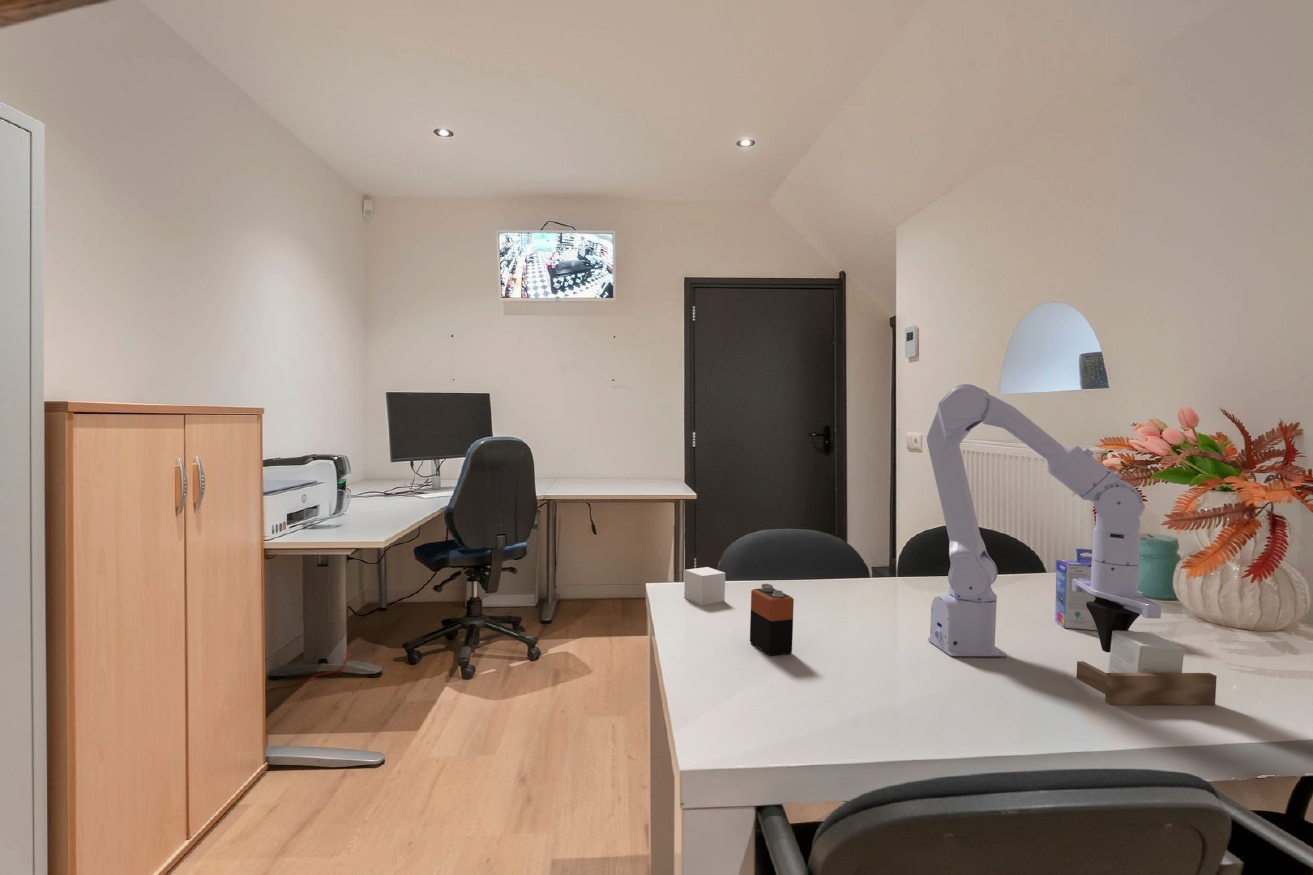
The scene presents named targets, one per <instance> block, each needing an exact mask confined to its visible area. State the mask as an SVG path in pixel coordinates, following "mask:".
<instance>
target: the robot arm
mask: <svg viewBox="0 0 1313 875" xmlns="http://www.w3.org/2000/svg"><path fill="white" fill-rule="evenodd" d="M981 423H982V424H984V425H988V426H993V427H997V428H1002V429H1004V430H1006V431H1007V432H1008V433H1010V434H1011V435H1012V436H1014V437H1015V438H1016V439H1018V440H1020V441H1021V442H1022V443H1023V444H1025V445H1026V446H1027V447H1029V448H1030V449H1031V450H1033V451H1035V452H1036V454H1038V455H1040V456H1041V457H1043V459H1045V460H1046V462H1047V472H1048V473H1049V474H1050V475H1051V476H1053V477H1054V478H1055V479H1056V480H1057V481H1059V482H1060V483H1062V484H1063V485H1064V486H1066V488H1068V489H1069V490H1070V491H1072V493H1075V495H1077V496H1078V497H1080V498H1081V499H1082V500H1083V501H1090V502H1092V503H1093V507H1094V510H1095V512H1096V513H1095V514H1096V515H1095V527H1094V528H1093V529H1092V549H1091V550H1092V554H1091V557H1092V567H1091V581H1089V580H1086V579H1072V590H1073V591H1075V592H1082V593H1085V594H1087V595H1090V596H1093V597H1095V600H1094V602H1086V607H1087V608H1088V610H1089V612H1090V613H1091V615H1092V617H1093V620H1094V622H1095V625H1096V627H1097V630H1096V631H1097V633H1098V639H1099V642H1100V643H1099V644H1100V647H1101V650H1102V652H1105V653H1110V651H1111V640H1112V631H1129V629H1130V628H1131V626H1132V625H1133V623H1134V622H1136V620H1137V619H1138V618H1139V617H1140V616H1142V617H1143V618H1146V619H1161V616H1162V604H1160V603H1157V602H1154V601H1152V600H1151V599H1149V598H1147V597H1145V596H1143V594H1144V593H1143V592H1142V591H1139V590H1138V589H1139V587H1138V586H1139V572H1140V571H1139V568H1140V567H1139V566H1140V565H1139V564H1140V552H1141V550H1140V549H1141V533H1140V532H1139V529H1140V528H1141V520H1140V518H1139V517H1140V516H1141V515H1143V512H1144V510H1145V504H1144V502H1143V501H1144V500H1143V498H1142V495H1141V494H1140V492H1139V491H1138V490H1137V489H1136V488H1135V487H1134V486H1133V485H1132V484H1131V483H1130V482H1128V481H1125V480H1124V479H1122V478H1123V474H1121V473H1120V472H1119V471H1117V470H1116V471H1115V472H1114V471H1113V470H1111V469H1110V468H1109V467H1107V466H1105V465H1104V464H1103V463H1102V462H1100V461H1099V460H1098V459H1096V458H1095V457H1093V455H1094V454H1095V452H1093V451H1092V450H1091V449H1090V448H1089V447H1086V448H1084V449H1083V448H1082V447H1081V446H1079V445H1062V444H1061V443H1060V442H1058V441H1057V440H1056V439H1055V438H1054V437H1053V436H1051V435H1050V434H1048V433H1047V432H1046V431H1045V430H1044V429H1042V428H1041V427H1039V426H1038V424H1036V423H1035V422H1033V421H1032V420H1031V419H1029V417H1027V416H1026V415H1025V414H1023V412H1021V411H1020V410H1018V409H1017V408H1016V407H1014V406H1013V405H1011V404H1009V403H1008V402H1005V401H1004V400H1003V399H1000V398H999V397H996V396H994V395H992V394H990V393H989V392H988V391H987V390H986V389H983V388H981V387H979V386H976V385H974V384H970V383H964V384H963V383H962V384H959V385H955V386H954V387H952V388H950V390H949V391H947V392H946V394H945V395H944V396H943V397H942V398H941V399H940V400H939V401H938V403H937V408H936V413H935V415H934V417H933V420H932V423H931V425H930V428H929V430H928V433H927V436H926V444H927V448H928V453H929V456H930V462H931V465H932V470H933V474H934V475H933V476H934V479H935V483H936V487H937V491H938V492H937V493H938V496H939V500H940V504H941V509H942V513H943V517H944V522H945V526H946V527H945V528H946V531H947V532H946V533H947V536H948V540H949V548H948V555H949V561H950V567H949V570H948V576H947V579H948V580H947V581H948V583H949V586H950V587H949V588H948V592H947V593H945V594H943V595H937V596H935V597H933V600H932V603H931V606H930V628H929V629H930V630H929V632H930V633H929V634H930V635H929V636H928V637H927V640H928V641H929V642H930V643H932V644H933V645H935V646H936V647H937V648H939V649H940V650H941V651H943V652H945V653H946V654H948V655H949V656H951V657H1007V652H1005V651H1003V650H1002V649H1000V648H998V647H997V646H996V628H997V627H996V626H997V624H996V622H997V598H998V595H996V593H995V592H994V591H993V588H992V587H991V586H992V585H993V584H994V583H995V581H996V579H997V578H998V568H997V565H996V563H995V561H994V560H993V559H992V557H990V555H989V554H988V551H987V548H986V544H985V542H984V539H983V537H982V536H981V532H980V529H979V528H980V527H979V524H978V519H977V515H976V510H975V506H974V501H973V498H972V494H971V489H970V484H969V481H968V476H967V472H966V468H965V465H964V464H965V463H964V458H963V455H962V451H961V447H960V445H961V443H962V442H963V440H964V439H965V438H966V437H967V435H968V434H969V433H970V432H971V430H972V429H973V428H976V427H977V426H978V425H980V424H981ZM1121 479H1122V480H1121Z"/></svg>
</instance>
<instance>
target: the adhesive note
mask: <svg viewBox="0 0 1313 875" xmlns="http://www.w3.org/2000/svg"><path fill="white" fill-rule="evenodd" d="M683 594H684V595H683V598H684V599H686V600H689V601H691V602H693V603H696V604H698V605H700V606H705V605H709V604H710V605H712V604H716V603H723V602H725V599H726V598H725V597H726V572H724V571H721V570H717V569H715V568H712V567H709V566H705V567H698V568H690V569H685V570H684V593H683Z"/></svg>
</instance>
